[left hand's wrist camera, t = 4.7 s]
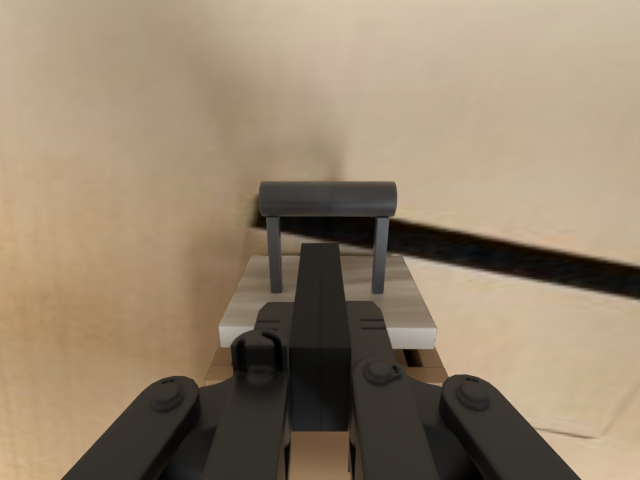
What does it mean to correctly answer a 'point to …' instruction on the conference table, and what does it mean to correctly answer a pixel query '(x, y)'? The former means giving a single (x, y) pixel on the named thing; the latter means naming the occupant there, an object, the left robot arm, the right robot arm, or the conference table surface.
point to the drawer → (357, 271)
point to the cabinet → (330, 447)
